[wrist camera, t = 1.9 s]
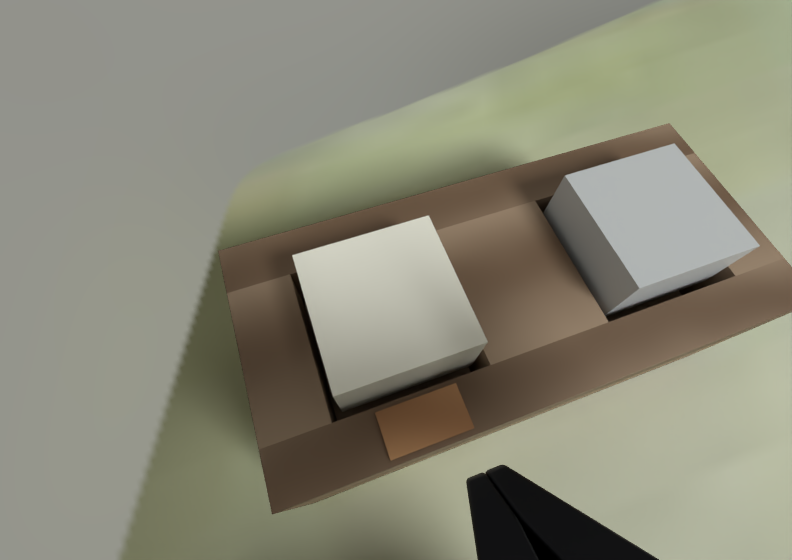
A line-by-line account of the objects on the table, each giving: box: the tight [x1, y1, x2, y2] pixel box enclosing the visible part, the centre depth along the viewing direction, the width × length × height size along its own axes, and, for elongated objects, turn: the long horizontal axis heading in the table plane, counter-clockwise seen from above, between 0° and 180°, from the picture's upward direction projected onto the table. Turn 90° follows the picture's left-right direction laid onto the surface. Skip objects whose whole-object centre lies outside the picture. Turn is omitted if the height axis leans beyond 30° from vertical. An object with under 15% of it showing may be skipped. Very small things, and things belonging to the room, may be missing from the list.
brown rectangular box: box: [218, 123, 792, 514], centre depth 21 cm, size 10×22×8 cm, turn 110°
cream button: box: [292, 215, 488, 412], centre depth 16 cm, size 5×5×3 cm
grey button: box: [543, 143, 760, 317], centre depth 17 cm, size 5×5×3 cm
